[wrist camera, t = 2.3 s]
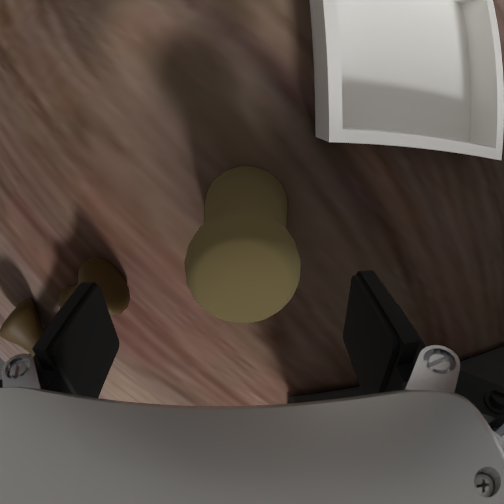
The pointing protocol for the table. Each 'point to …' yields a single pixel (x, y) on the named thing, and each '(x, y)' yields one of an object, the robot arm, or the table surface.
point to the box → (409, 74)
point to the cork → (243, 248)
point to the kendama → (92, 270)
